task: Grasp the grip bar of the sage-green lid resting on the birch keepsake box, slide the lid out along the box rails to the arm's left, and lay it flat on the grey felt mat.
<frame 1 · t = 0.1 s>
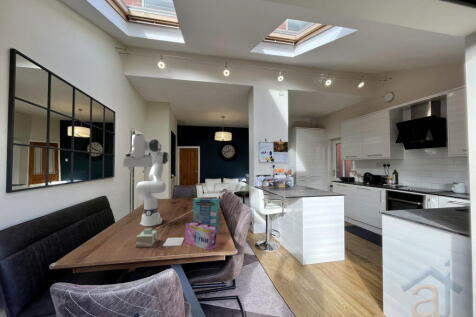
hand: (137, 172, 148), 48 cm above the table, fingers open, 8 cm apart
lid: (147, 234, 134), point 6 cm above the table, touching box
mat: (174, 241, 136), on the table
game box: (206, 232, 156), on the table
gum box: (200, 245, 132), on the table
box: (147, 243, 134), on the table
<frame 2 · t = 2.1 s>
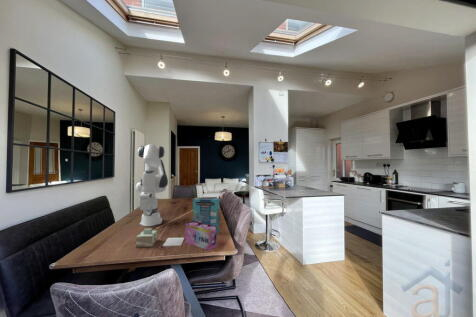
hand: (148, 213, 134), 20 cm above the table, fingers open, 8 cm apart
nothing on the table moved.
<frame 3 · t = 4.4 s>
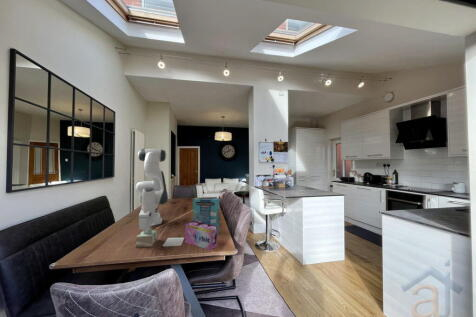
hand: (147, 231, 134), 8 cm above the table, fingers closed on lid, 2 cm apart
lid: (147, 234, 134), point 6 cm above the table, touching box, gripper
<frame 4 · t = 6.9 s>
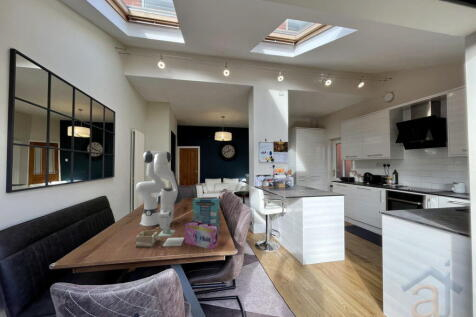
hand: (166, 231, 135), 8 cm above the table, fingers closed on lid, 2 cm apart
lid: (166, 233, 135), point 6 cm above the table, touching gripper
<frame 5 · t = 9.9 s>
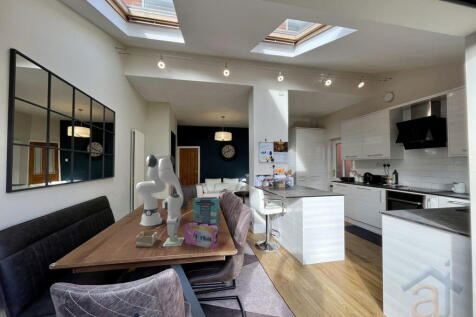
hand: (173, 237, 136), 3 cm above the table, fingers open, 4 cm apart
lid: (173, 241, 136), resting on mat
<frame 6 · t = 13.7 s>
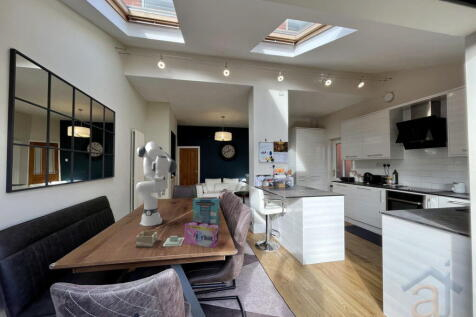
hand: (161, 196, 142), 31 cm above the table, fingers open, 8 cm apart
at the end: lid inside the target area on the mat (0.9 cm from its centre), point 0.4 cm above the mat's base; lid tilted 0°; the gripper is holding nothing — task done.
